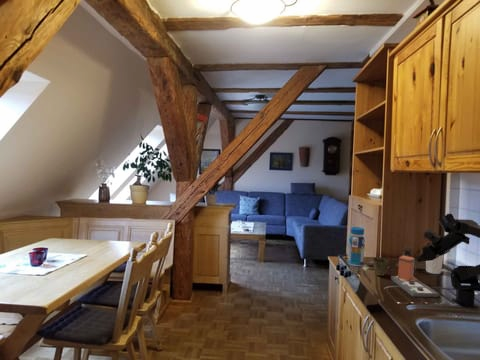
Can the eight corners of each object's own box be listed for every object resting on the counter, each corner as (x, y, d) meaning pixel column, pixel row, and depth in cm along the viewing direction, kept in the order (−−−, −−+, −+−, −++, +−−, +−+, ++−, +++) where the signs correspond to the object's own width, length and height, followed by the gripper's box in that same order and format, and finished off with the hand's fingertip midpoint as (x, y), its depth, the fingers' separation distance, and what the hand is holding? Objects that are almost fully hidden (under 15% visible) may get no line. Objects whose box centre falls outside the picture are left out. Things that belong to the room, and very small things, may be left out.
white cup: (426, 268, 179) (427, 250, 178) (443, 271, 174) (444, 253, 174) (423, 271, 173) (424, 253, 172) (440, 275, 168) (442, 256, 167)
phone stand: (396, 268, 177) (398, 246, 176) (397, 265, 182) (398, 244, 181) (416, 271, 173) (417, 249, 172) (416, 268, 178) (417, 246, 177)
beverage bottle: (344, 262, 185) (346, 226, 184) (357, 261, 188) (359, 226, 186) (353, 267, 177) (355, 230, 176) (367, 266, 180) (369, 229, 178)
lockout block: (408, 281, 155) (410, 259, 154) (397, 277, 158) (399, 257, 158) (413, 278, 158) (414, 258, 157) (402, 275, 162) (403, 255, 161)
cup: (385, 273, 169) (386, 257, 169) (390, 278, 162) (391, 262, 162) (370, 272, 170) (371, 256, 170) (374, 277, 163) (375, 261, 162)
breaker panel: (438, 297, 141) (438, 291, 141) (412, 296, 141) (413, 290, 141) (413, 279, 161) (413, 274, 161) (390, 279, 161) (391, 274, 161)
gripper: (444, 222, 153) (417, 241, 162) (428, 227, 141) (400, 247, 150) (462, 243, 148) (433, 261, 157) (448, 250, 136) (417, 269, 145)
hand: (421, 259), depth 152 cm, fingers open, 9 cm apart
